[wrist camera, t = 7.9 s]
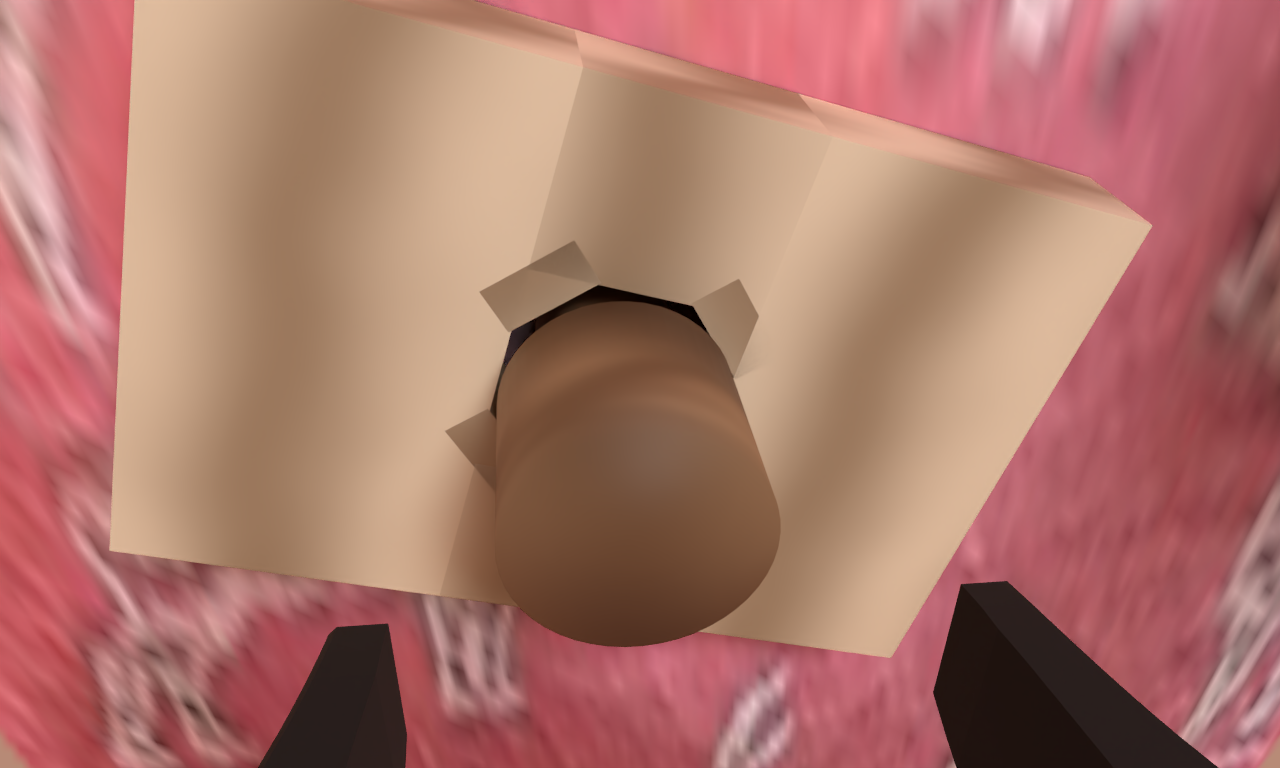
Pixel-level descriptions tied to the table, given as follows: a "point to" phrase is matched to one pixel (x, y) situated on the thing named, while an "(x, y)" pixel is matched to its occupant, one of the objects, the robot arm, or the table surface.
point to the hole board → (562, 294)
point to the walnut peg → (627, 476)
